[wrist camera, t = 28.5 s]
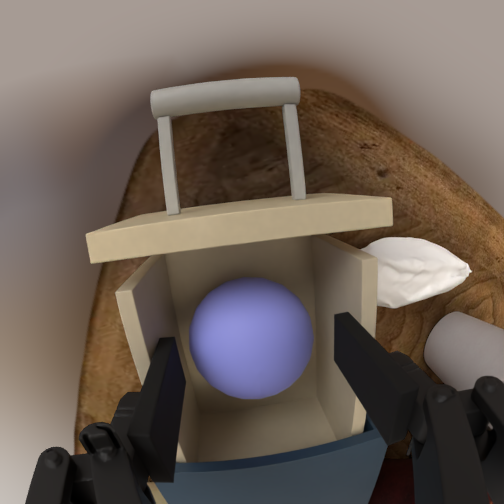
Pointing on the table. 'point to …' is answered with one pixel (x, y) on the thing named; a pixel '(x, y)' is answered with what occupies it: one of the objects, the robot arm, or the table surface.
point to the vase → (396, 483)
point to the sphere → (251, 338)
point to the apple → (156, 493)
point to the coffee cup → (465, 351)
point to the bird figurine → (414, 270)
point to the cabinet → (286, 475)
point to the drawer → (247, 265)
